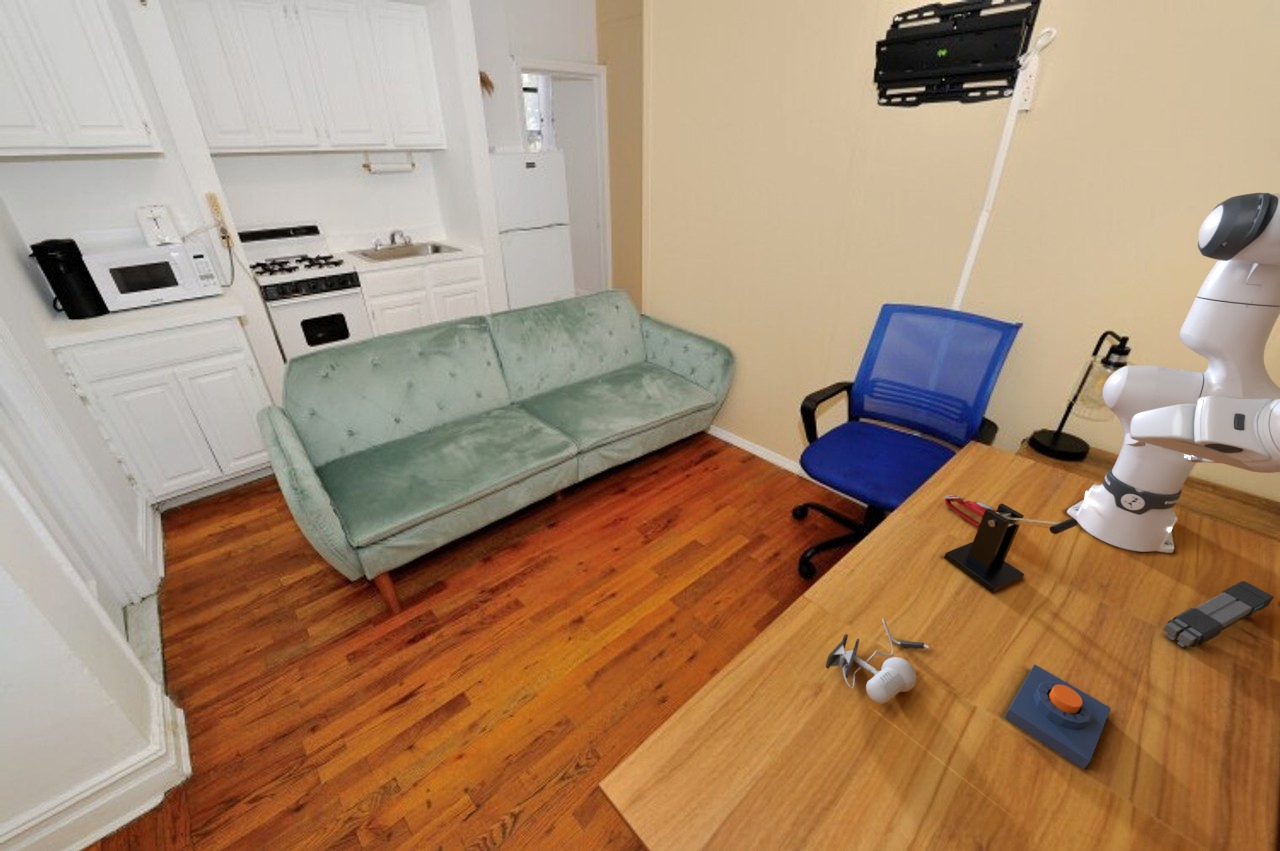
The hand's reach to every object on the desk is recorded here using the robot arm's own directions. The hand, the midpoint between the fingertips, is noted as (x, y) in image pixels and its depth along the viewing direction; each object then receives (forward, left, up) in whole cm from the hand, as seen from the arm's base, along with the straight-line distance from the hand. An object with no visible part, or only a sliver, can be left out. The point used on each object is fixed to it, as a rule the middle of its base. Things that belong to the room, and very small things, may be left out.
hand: (1158, 448), depth 78 cm
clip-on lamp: (+38, -18, -37) cm, 56 cm away
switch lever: (0, -10, -22) cm, 25 cm away
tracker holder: (-19, -24, -37) cm, 48 cm away
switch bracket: (-1, -15, -37) cm, 40 cm away
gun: (-15, +17, -37) cm, 44 cm away
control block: (+25, +4, -37) cm, 45 cm away
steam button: (+25, +4, -33) cm, 42 cm away
